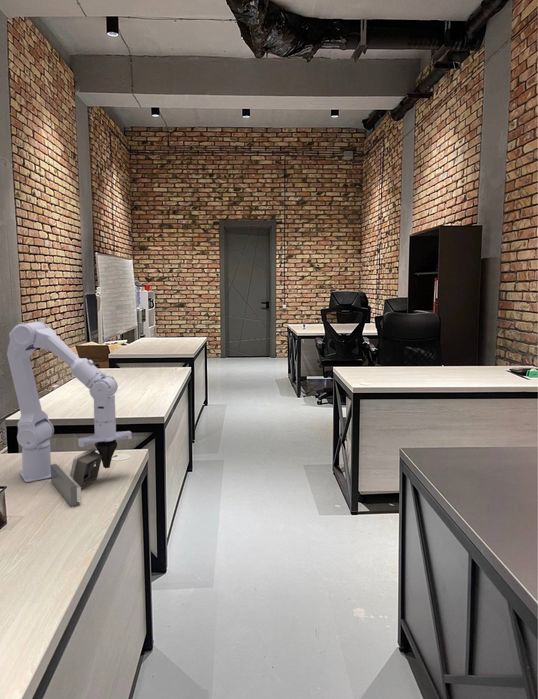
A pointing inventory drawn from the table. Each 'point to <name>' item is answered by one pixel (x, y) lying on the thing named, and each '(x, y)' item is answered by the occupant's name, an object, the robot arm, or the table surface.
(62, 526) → the table surface
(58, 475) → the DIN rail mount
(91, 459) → the electrical switch
